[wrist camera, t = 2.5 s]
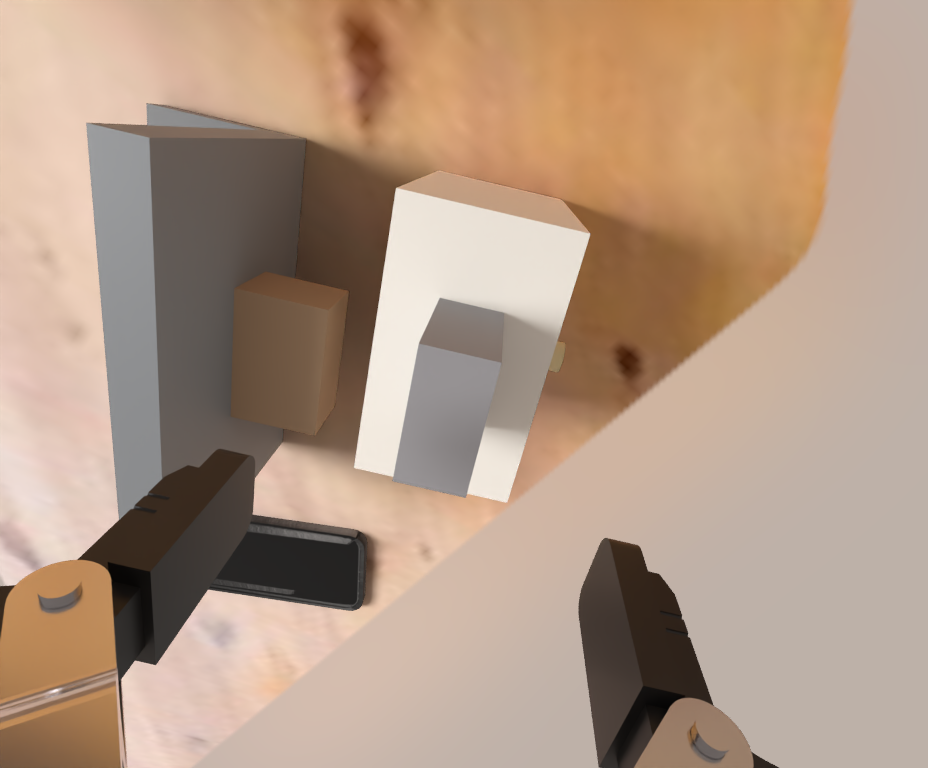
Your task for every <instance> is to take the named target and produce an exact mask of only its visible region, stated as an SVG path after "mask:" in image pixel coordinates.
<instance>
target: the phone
mask: <svg viewBox="0 0 928 768" xmlns="http://www.w3.org/2000/svg"><path fill="white" fill-rule="evenodd" d="M366 559H367V539H366V537H365V536H364V535H363V534H362V533H361V532H359V531H357V530H354V529H348V528H341V527H334V526H327V525H320V524H313V523H306V522H299V521H292V520H285V519H278V518H271V517H264V516H257V515H252V518H251V522H250V525H249V527H248V530H247V532H246V534H245V536H244V537H243V539H242V541H241V542H240V543H239V545H238V546H237V548H236V549H235V551H234V552H233V554H232V555H231V557H230V558H229V559H228V561H227V562H226V564H225V565H224V567H223V568H222V570H221V571H220V573H219V574H218V575H217V577H216V578H215V580H214V581H213V583H212V584H211V586H210V587H209V589H208V590H215V591H222V592H228V593H235V594H242V595H248V596H255V597H262V598H268V599H275V600H282V601H288V602H295V603H302V604H308V605H315V606H322V607H328V608H335V609H341V610H348V611H353V610H357V609H359V608H360V607H361V606H362V603H363V600H364V597H365V583H366Z"/></svg>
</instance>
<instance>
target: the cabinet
mask: <svg viewBox="0 0 928 768" xmlns="http://www.w3.org/2000/svg"><path fill="white" fill-rule="evenodd" d="M589 237H590V232H589V231H588V230H587V229H586V228H585V227H584V225H583V224H582V223H581V222H580V221H579V219H578V218H577V217H576V216H575V215H574V213H573V212H572V211H571V210H570V209H569V208H568V206H567V205H566V204H565V203H564V202H563V200H562V199H558V198H554V197H549V196H545V195H541V194H537V193H532V192H528V191H524V190H520V189H516V188H511V187H507V186H503V185H499V184H495V183H490V182H486V181H482V180H478V179H473V178H469V177H465V176H461V175H457V174H452V173H448V172H444V171H440V170H438V171H436V172H433V173H431V174H429V175H426V176H424V177H421V178H419V179H416V180H414V181H411V182H409V183H407V184H404V185H402V186H399V187H397V188H396V191H395V198H394V205H393V211H392V218H391V225H390V231H389V238H388V245H387V251H386V258H385V264H384V271H383V278H382V284H381V291H380V298H379V304H378V311H377V318H376V324H375V331H374V338H373V344H372V351H371V357H370V364H369V371H368V377H367V384H366V391H365V397H364V404H363V411H362V417H361V424H360V430H359V437H358V444H357V450H356V457H355V464H354V468H357V469H361V470H365V471H370V472H374V473H379V474H383V475H387V476H392V477H393V481H394V482H399V483H403V484H407V485H412V486H416V487H421V488H425V489H429V490H434V491H438V492H443V493H447V494H451V495H456V496H460V497H465V498H466V495H467V494H471V495H475V496H480V497H484V498H488V499H493V500H497V501H501V502H506V503H507V501H508V498H509V495H510V492H511V489H512V485H513V482H514V479H515V476H516V472H517V469H518V466H519V463H520V460H521V456H522V453H523V450H524V447H525V443H526V440H527V437H528V434H529V431H530V427H531V424H532V421H533V418H534V415H535V411H536V408H537V405H538V402H539V398H540V395H541V392H542V389H543V386H544V382H545V379H546V376H547V373H548V370H549V371H553V372H559V370H560V368H561V365H562V362H563V359H564V354H565V347H566V345H565V343H564V342H560V341H557V340H558V337H559V334H560V331H561V328H562V324H563V321H564V318H565V315H566V311H567V308H568V305H569V302H570V299H571V295H572V292H573V289H574V286H575V283H576V279H577V276H578V273H579V270H580V266H581V263H582V260H583V257H584V254H585V250H586V247H587V244H588V241H589Z"/></svg>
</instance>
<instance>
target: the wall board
mask: <svg viewBox="0 0 928 768" xmlns="http://www.w3.org/2000/svg"><path fill="white" fill-rule="evenodd" d="M86 125H87V137H88V149H89V162H90V174H91V186H92V198H93V210H94V222H95V234H96V246H97V258H98V270H99V283H100V295H101V307H102V319H103V331H104V343H105V355H106V367H107V379H108V391H109V404H110V416H111V428H112V440H113V452H114V464H115V476H116V488H117V500H118V512H119V520H120V519H121V518H122V517H123V516H124V515H125V514H126V513H127V512H128V511H129V510H130V509H133V508H134V505H135V504H136V503H137V502H139V501H140V500H141V499H142V498H143V497H144V496H147V495H148V492H149V491H150V490H151V489H152V488H153V487H154V486H155V485H156V484H157V483H158V482H159V481H160V480H162V479H163V478H164V477H165V476H167V475H169V474H171V473H173V472H175V471H177V470H179V469H181V468H183V467H185V466H187V465H190V466H194V467H198V468H199V467H200V466H201V465H202V464H203V463H204V462H205V461H206V460H207V459H208V458H209V457H210V456H211V455H212V454H213V453H214V452H215V451H216V450H217V449H225V450H229V451H233V452H238V453H242V454H246V455H251V456H253V457H254V459H255V477H256V476H257V475H258V473H259V472H260V471H261V469H262V468H263V467H264V465H265V464H266V463H267V461H268V460H269V459H270V457H271V456H272V455H273V454H274V452H275V451H276V450H277V448H278V447H279V446H280V444H281V443H282V440H283V429H287V430H291V431H295V432H300V433H304V434H309V435H313V436H315V435H316V434H317V432H318V431H319V429H320V428H321V426H322V425H323V423H324V422H325V420H326V419H327V417H328V416H329V414H330V413H331V411H332V410H333V408H334V407H335V402H336V394H337V386H338V378H339V370H340V362H341V354H342V346H343V338H344V330H345V322H346V314H347V306H348V298H349V291H347V290H343V289H338V288H334V287H330V286H326V285H321V284H317V283H313V282H308V281H304V280H300V279H295V275H296V262H297V249H298V237H299V224H300V211H301V199H302V186H303V173H304V160H305V148H306V139H305V138H300V137H296V136H292V135H288V134H284V133H279V132H275V131H271V130H267V129H262V128H258V127H254V126H250V125H246V124H241V123H237V122H233V121H229V120H225V119H220V118H216V117H212V116H208V115H203V114H199V113H195V112H191V111H187V110H182V109H178V108H174V107H170V106H165V105H158V104H148V103H147V125H127V124H102V123H86Z"/></svg>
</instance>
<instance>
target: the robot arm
mask: <svg viewBox="0 0 928 768" xmlns="http://www.w3.org/2000/svg"><path fill="white" fill-rule="evenodd" d="M254 481H255V459H254V457H253V456H251V455H246V454H242V453H238V452H233V451H229V450H225V449H217V450H216V451H215V452H214V453H213V454H212V455H211V456H210V457H209V458H208V459H207V460H206V461H205V462H204V463H203V464H202V465H201V466H200V467H199V468H198V467H194V466H190V465H187V466H185V467H183V468H181V469H179V470H177V471H175V472H173V473H171V474H169V475H167V476H165V477H164V478H163V479H162V480H160V481H159V482H158V483H157V484H156V485H155V486H154V487H153V488H152V489H151V490H150V491H149V492H148V495H147V496H144V497H143V498H142V499H141V500H140V501H139V502H137V503H136V504H135V505H134V508H133V509H130V510H129V511H128V512H127V513H126V514H125V515H124V516H123V517H122V518H121V519H120V520H119V521H118V522H117V523H115V524H114V525H113V526H112V527H111V528H110V529H109V530H108V531H107V532H106V533H105V534H104V535H103V536H102V537H101V538H100V539H99V540H98V541H97V542H96V543H95V544H93V545H92V546H91V547H90V548H89V549H88V550H87V551H86V552H85V553H84V554H83V555H82V556H81V557H80V558H79V559H78V560H69V561H63V562H58V563H54V564H51V565H48V566H45V567H43V568H41V569H39V570H36V571H35V572H33V573H31V574H29V575H28V576H26V577H25V578H24V579H22V580H21V581H20V582H19V583H18V584H17V585H13V586H0V768H127V753H126V738H125V723H124V708H123V693H122V680H121V679H122V677H123V676H124V675H125V673H126V672H127V670H128V669H129V668H130V666H131V665H132V664H133V662H134V661H135V660H136V661H140V662H145V663H149V664H153V665H156V664H157V663H158V661H159V660H160V658H161V657H162V655H163V654H164V653H165V651H166V650H167V648H168V647H169V645H170V644H171V642H172V641H173V639H174V638H175V637H176V635H177V634H178V632H179V631H180V629H181V628H182V626H183V625H184V623H185V622H186V621H187V619H188V618H189V616H190V615H191V613H192V612H193V610H194V609H195V607H196V606H197V605H198V603H199V602H200V600H201V599H202V597H203V596H204V594H205V593H206V591H207V590H208V589H209V587H210V586H211V584H212V583H213V581H214V580H215V578H216V577H217V575H218V574H219V573H220V571H221V570H222V568H223V567H224V565H225V564H226V562H227V561H228V559H229V558H230V557H231V555H232V554H233V552H234V551H235V549H236V548H237V546H238V545H239V543H240V542H241V541H242V539H243V537H244V536H245V534H246V532H247V530H248V527H249V525H250V522H251V518H252V513H253V501H254ZM579 621H580V628H581V636H582V644H583V651H584V659H585V666H586V674H587V682H588V688H589V697H590V704H591V712H592V719H593V727H594V734H595V742H596V750H597V757H598V764H599V767H600V768H778V767H777V766H775V765H773V764H771V763H769V762H767V761H765V760H764V759H762V758H760V757H758V756H757V755H755V754H754V753H752V752H751V749H750V746H749V744H748V742H747V740H746V738H745V737H744V735H743V733H742V732H741V730H740V729H739V728H738V727H737V725H736V724H735V723H734V722H733V721H732V720H731V719H730V718H729V717H728V716H727V715H725V714H724V713H723V712H722V711H721V710H719V709H718V708H716V707H714V705H713V703H712V700H711V697H710V694H709V692H708V688H707V685H706V683H705V680H704V677H703V674H702V671H701V668H700V665H699V663H698V660H697V657H696V654H695V651H694V648H693V645H692V643H691V640H690V638H689V637H688V631H687V628H686V625H685V622H684V620H682V614H681V611H680V608H679V605H678V602H677V600H676V597H675V594H674V593H673V592H672V590H671V589H670V588H669V586H668V585H667V584H666V582H665V581H664V580H663V579H662V577H661V576H660V575H659V574H657V573H652V572H648V570H647V567H646V564H645V560H644V557H643V554H642V551H641V548H640V547H639V546H638V545H635V544H630V543H626V542H621V541H617V540H613V539H608V538H604V539H603V540H602V542H601V543H600V545H599V548H598V550H597V553H596V555H595V558H594V560H593V562H592V565H591V567H590V569H589V572H588V574H587V577H586V579H585V581H584V584H583V586H582V589H581V593H580V599H579Z"/></svg>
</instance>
